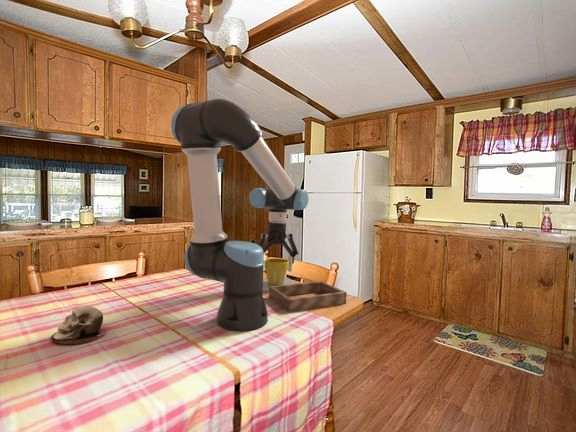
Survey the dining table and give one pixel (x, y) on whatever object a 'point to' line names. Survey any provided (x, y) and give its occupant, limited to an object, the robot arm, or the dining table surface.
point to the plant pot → (276, 270)
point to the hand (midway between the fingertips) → (275, 272)
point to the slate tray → (267, 285)
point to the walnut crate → (296, 304)
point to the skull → (80, 326)
